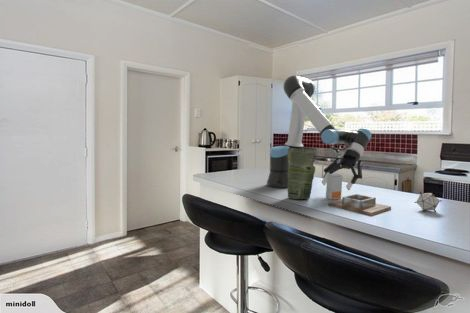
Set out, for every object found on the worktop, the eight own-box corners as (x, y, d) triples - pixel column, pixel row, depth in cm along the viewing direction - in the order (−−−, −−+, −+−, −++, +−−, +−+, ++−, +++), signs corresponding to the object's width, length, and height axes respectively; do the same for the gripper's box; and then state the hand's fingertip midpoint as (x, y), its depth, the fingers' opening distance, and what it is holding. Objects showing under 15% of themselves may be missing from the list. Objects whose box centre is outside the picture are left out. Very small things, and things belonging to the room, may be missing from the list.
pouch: (283, 196, 145) (284, 146, 143) (303, 194, 149) (305, 146, 147) (295, 201, 135) (297, 148, 132) (317, 199, 139) (319, 147, 137)
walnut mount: (327, 204, 129) (328, 195, 129) (348, 199, 139) (348, 191, 138) (371, 215, 113) (371, 205, 113) (391, 209, 123) (391, 199, 122)
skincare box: (330, 199, 139) (331, 175, 138) (325, 197, 143) (326, 173, 142) (341, 198, 141) (342, 174, 139) (336, 196, 145) (337, 173, 144)
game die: (426, 218, 123) (434, 198, 125) (441, 217, 115) (449, 195, 117) (407, 207, 124) (415, 187, 126) (420, 205, 116) (429, 184, 118)
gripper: (379, 160, 140) (362, 195, 132) (334, 156, 160) (316, 186, 152) (374, 150, 136) (356, 185, 129) (329, 147, 156) (310, 177, 149)
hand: (334, 186), depth 140 cm, fingers open, 13 cm apart
